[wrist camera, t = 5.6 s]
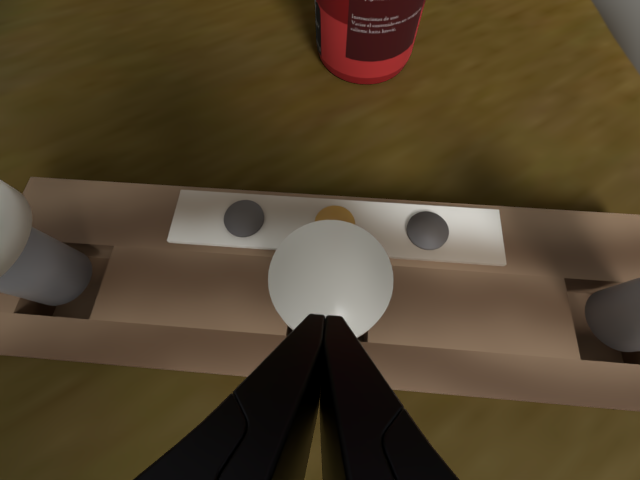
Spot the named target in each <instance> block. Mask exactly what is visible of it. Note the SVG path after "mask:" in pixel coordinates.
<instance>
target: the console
mask: <svg viewBox="0 0 640 480" xmlns="http://www.w3.org/2000/svg"><path fill="white" fill-rule="evenodd" d="M22 195H23V196H24V197H25V198H26V200H27V201H28V203H29V205H30V208H31V212H32V227H33V228H35V229H37V230H39V231H41V232H43V233H45V234H47V235H49V236H51V237H53V238H54V239H56V240H58V241H60V242H62V243H64V244H66V245H68V246H70V247H72V248H74V249H76V250H78V251H80V252H82V253H83V254H85V255H86V256H87V257H88V258H89V260H90V262H91V265H92V276H91V279H90V282H89V284H88V286H87V287H86V289H85V290H84V291H83V292H82V293H81V294H80V295H79V296H78V297H77V298H75V299H74V300H72V301H70V302H68V303H66V304H63V305H57V306H51V305H46V304H42V303H39V302H35V301H31V300H27V299H23V298H20V297H16V296H12V295H8V294H5V293H1V292H0V355H7V356H19V357H30V358H41V359H53V360H64V361H75V362H87V363H98V364H109V365H121V366H132V367H143V368H155V369H166V370H177V371H188V372H200V373H211V374H222V375H234V376H245V377H248V376H249V375H250V374H251V373H252V372H253V371H254V370H255V369H256V368H257V367H258V366H259V365H260V364H261V363H262V361H263V360H264V359H265V358H266V357H267V356H268V355H269V354H270V353H271V352H272V351H273V350H274V349H275V348H276V347H277V346H278V345H279V344H280V343H281V342H282V341H283V340H284V339H285V338H286V337H287V336H288V335H289V334H290V333H291V332H292V331H293V330H292V329H291V328H290V327H289V326H288V325H287V324H286V323H285V322H284V321H283V319H282V318H281V316H280V315H279V313H278V312H277V311H276V309H275V307H274V305H273V303H272V300H271V297H270V293H269V288H268V272H269V267H270V263H271V260H272V257H273V255H274V253H275V251H276V249H277V248H278V247H279V245H280V244H281V242H282V241H283V240H284V239H285V238H286V237H287V236H288V235H289V234H291V233H292V232H293V231H295V230H296V229H298V228H300V227H302V226H304V225H306V224H309V223H312V222H316V221H321V220H340V221H345V222H349V223H352V224H354V225H357V226H359V227H361V228H363V229H364V230H366V231H367V232H369V233H370V234H371V235H372V236H374V237H375V238H376V239H377V240H378V242H379V243H380V244H381V245H382V247H383V248H384V250H385V251H386V253H387V255H388V257H389V260H390V263H391V266H392V271H393V291H392V296H391V299H390V302H389V305H388V306H387V308H386V310H385V312H384V313H383V315H382V316H381V318H380V319H379V320H378V321H377V322H376V323H375V325H374V326H373V327H372V328H371V329H370V330H368V331H367V332H366V333H365V334H363V335H361V336H360V337H358V338H357V339H358V340H359V342H360V343H361V345H362V346H363V348H364V349H365V350H366V352H367V353H368V355H369V356H370V358H371V359H372V361H373V362H374V364H375V365H376V367H377V368H378V370H379V371H380V372H381V374H382V375H383V377H384V378H385V380H386V381H387V383H388V384H389V386H390V387H391V389H392V390H404V391H415V392H426V393H438V394H449V395H460V396H472V397H483V398H494V399H506V400H517V401H528V402H540V403H551V404H562V405H574V406H585V407H596V408H608V409H619V410H630V411H640V351H636V352H622V351H618V350H615V349H613V348H611V347H609V346H607V345H605V344H604V343H603V342H601V341H600V340H599V339H598V338H597V337H596V336H595V335H594V334H593V332H592V331H591V329H590V328H589V326H588V323H587V321H586V317H585V305H586V302H587V300H588V298H589V297H590V296H591V295H592V294H593V293H595V292H597V291H599V290H602V289H605V288H608V287H611V286H614V285H618V284H621V283H624V282H627V281H630V280H633V279H636V278H639V277H640V215H634V214H618V213H602V212H586V211H570V210H554V209H538V208H522V207H506V206H490V205H474V204H458V203H442V202H426V201H410V200H394V199H378V198H362V197H346V196H330V195H314V194H298V193H281V192H265V191H249V190H233V189H217V188H201V187H185V186H169V185H153V184H137V183H121V182H105V181H89V180H73V179H57V178H41V177H30V179H29V181H28V183H27V185H26V188H25V190H24V192H23V194H22Z"/></svg>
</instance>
